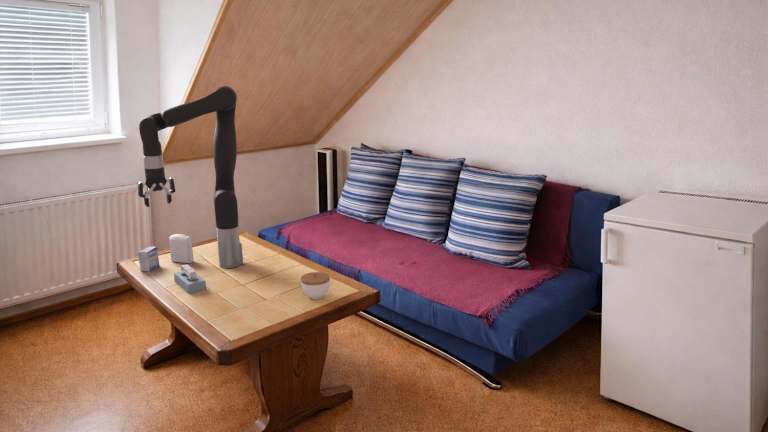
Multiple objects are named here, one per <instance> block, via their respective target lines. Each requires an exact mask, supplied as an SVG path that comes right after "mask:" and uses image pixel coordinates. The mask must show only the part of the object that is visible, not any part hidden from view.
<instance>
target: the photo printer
mask: <svg viewBox="0 0 768 432" xmlns="http://www.w3.org/2000/svg"><path fill="white" fill-rule="evenodd" d="M192 241H193V240H192V239H191V237H190V236H188V235H187V234H183V233H182V234H181V233H175V234H172V235H170V236H169V239H168V243H169V245H168V246H169V252H170V260H171V262H175V263H182V264H192V263H193V262H194V261H195V260H194V252H193V250H194V249H193V242H192Z"/></svg>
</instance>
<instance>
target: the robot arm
mask: <svg viewBox="0 0 768 432" xmlns="http://www.w3.org/2000/svg"><path fill="white" fill-rule="evenodd" d="M237 101H238V95H237V92H236V91H235V89H233V88H232V87H231V86H229V85H222V86H219V87H217V88H216V89H215V91H213V92H211V93H210V94H208V95H206V96H204V97H202V98H200V99H196V100H193V101H189V102H186V103H181V104H179V105H175V106H173V107H170V108H168V109H165V110H163V111H160V112H157V113H153V114H150V115H147V116H145V117H143V118H142V119H141V120H140V121H139V124H138V131H139V135H140V139H141V142H142V143H141V144H142V152H143V153H142V154H143V166H144V176H145V181H144V182H143V181H142V182H141V181H138V182H137V190H138V191H137V193H138V196H139V197H140V198H143V201H144V202H143V203H144V205H145V206H146V207H147V208H150V198H149V196H150V195H151V194H152V192H160V191H163V192H165V193H166V202H167V204H168V205H169V204H171V202H173V201H172V194H174V193H175V192H176V187H175V181H174V178H172V177H169V178H166V173H165V172H166V171H165V163H164V162H165V161H164V158H163V157H164V156H163V151H162V148H163V147H162V144H161V142H160V140H159V139H160V138H159V131H161V130H165V129H168V128H173V127H176V126H179V125H182V124H184V123H187V122H189V121H191V120H194V119H197V118H199V117H202V116H204V115H207V114H208V115H209V114H210V113H211V114H212V113H215V114H216V115H215V117H216V120H215V128H214V129H215V130H214V135H213V164H214V165H213V166H214V171H215V186H214V192H213V193H214V195H213V204H214V214H215V216H214V217H215V230H216V240H217V253H218V265H219V267H220V268H224V269H233V268H237V267H240V266H241V265H244V256H243V244H242V242H241V240H240V229H239V211H238V210H239V209H238V207H239V206H238V200H237V199H238V198H237V196H236V190H235V181H234V180H235V170H236V164H237V156H238V155H237V153H238V152H237V151H238V150H237V149H238V148H237V147H238V146H237V145H238V144H237V143H238V142H237V132H236V131H237V130H236V123H235V121H236V120H235V119H236V107H237ZM166 184H169V188H170V189H168V188H167V187H166ZM145 186H146V189H145V192H144V188H145Z"/></svg>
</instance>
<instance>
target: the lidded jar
mask: <svg viewBox="0 0 768 432" xmlns="http://www.w3.org/2000/svg"><path fill="white" fill-rule="evenodd" d="M330 279H331V277H330V275H329V274H328V273H326V272H322V271H315V272H314V271H312V272H308V273H304V274H302V276H301V277H300V281H301V283H300V284H301V289H302V292H303V293H304V294H305V295H306V296H307V297H309V298H308V299H310V298H312V299H311V300H320V299H319V298H321V299H323V298H324V297H325V295H326V294H327V293H328V292H329V289H330ZM322 297H323V298H322Z"/></svg>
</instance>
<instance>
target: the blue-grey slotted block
mask: <svg viewBox="0 0 768 432" xmlns="http://www.w3.org/2000/svg"><path fill="white" fill-rule="evenodd" d="M196 275H197V276H196V278H197V280H196V281H192V282H189V279H188V275H187V276H182V270H180V271H176V272H174V273H173V278H174V279H173V280H174V282H176V284H178V285H179V287H180V288H182V289H183V290H185V292H186V293H187V294H192V293H195V292H196V293H197V292H201V291H204V290H207V281H206V280H205V279H204V278H203V277H201V276H200V275H199V274H198V273H196Z"/></svg>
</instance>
